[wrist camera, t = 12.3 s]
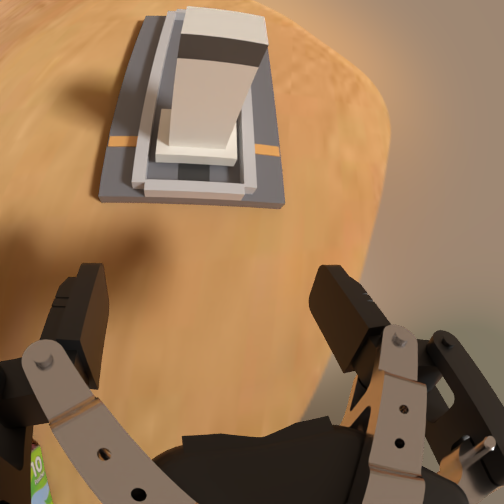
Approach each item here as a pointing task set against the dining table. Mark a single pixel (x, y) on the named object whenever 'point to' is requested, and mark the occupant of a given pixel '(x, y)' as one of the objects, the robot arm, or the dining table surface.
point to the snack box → (39, 479)
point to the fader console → (183, 174)
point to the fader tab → (210, 86)
